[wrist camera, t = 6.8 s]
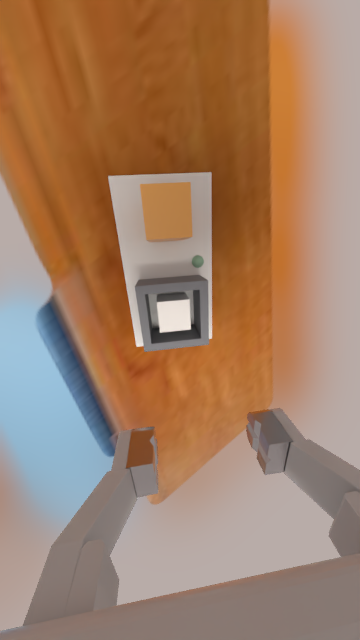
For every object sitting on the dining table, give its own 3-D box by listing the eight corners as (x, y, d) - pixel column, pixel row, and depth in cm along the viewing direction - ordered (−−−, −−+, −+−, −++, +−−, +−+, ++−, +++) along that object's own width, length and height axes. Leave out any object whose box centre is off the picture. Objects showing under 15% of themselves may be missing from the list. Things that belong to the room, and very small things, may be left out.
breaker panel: (109, 179, 22) (93, 155, 17) (209, 175, 23) (225, 151, 18) (137, 343, 30) (132, 365, 24) (210, 335, 31) (221, 354, 25)
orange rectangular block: (145, 202, 23) (139, 184, 16) (181, 201, 23) (190, 181, 16) (149, 242, 24) (146, 239, 18) (183, 240, 24) (192, 236, 18)
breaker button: (156, 295, 26) (156, 302, 22) (185, 293, 26) (189, 299, 23) (159, 322, 27) (159, 332, 24) (187, 319, 27) (191, 329, 24)
